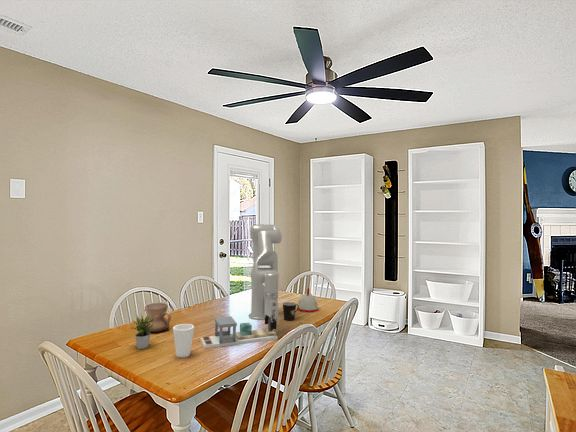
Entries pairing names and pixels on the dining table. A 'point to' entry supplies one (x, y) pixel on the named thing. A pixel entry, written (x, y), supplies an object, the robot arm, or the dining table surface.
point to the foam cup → (183, 339)
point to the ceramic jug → (160, 311)
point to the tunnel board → (229, 335)
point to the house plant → (143, 331)
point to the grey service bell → (308, 303)
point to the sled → (254, 331)
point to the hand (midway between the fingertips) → (270, 326)
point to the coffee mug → (289, 310)
